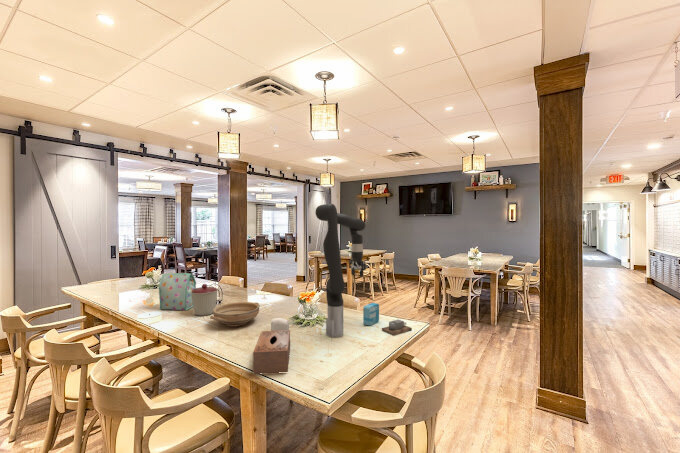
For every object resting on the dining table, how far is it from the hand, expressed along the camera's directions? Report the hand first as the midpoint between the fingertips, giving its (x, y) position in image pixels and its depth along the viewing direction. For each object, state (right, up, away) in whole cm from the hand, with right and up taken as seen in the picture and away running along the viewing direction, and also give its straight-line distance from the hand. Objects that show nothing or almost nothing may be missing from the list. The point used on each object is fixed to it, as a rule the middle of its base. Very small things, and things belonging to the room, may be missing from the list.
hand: (357, 275), depth 201 cm
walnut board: (+23, -30, -15) cm, 41 cm away
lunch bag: (-133, -30, +34) cm, 141 cm away
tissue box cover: (-42, -32, -55) cm, 76 cm away
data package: (+9, -30, -2) cm, 32 cm away
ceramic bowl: (-78, -31, -1) cm, 83 cm away
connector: (+23, -29, -15) cm, 40 cm away
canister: (-107, -30, +20) cm, 113 cm away
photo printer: (-44, -31, -31) cm, 62 cm away
